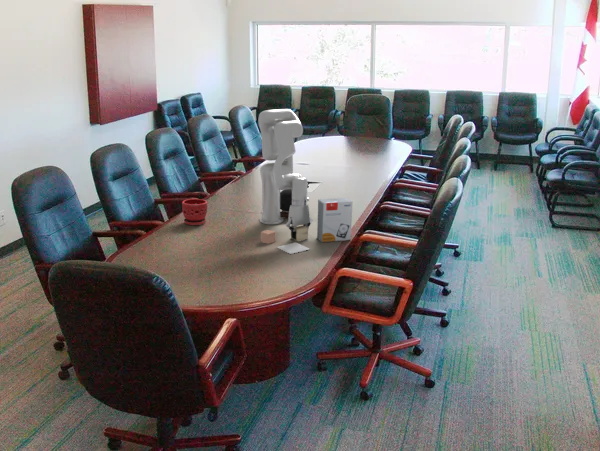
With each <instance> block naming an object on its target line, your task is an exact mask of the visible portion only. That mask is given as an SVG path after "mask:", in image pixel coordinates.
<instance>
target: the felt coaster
mask: <svg viewBox="0 0 600 451" xmlns="http://www.w3.org/2000/svg"><path fill="white" fill-rule="evenodd" d="M276 248H277V249H278V248H279V249H278V250H280V249H281V250H280V251H282V250H283V252H284V251H285V253H286V252H287V253H286V254H288V253H289V254H288V255H290V254H291V255H294V253H295V254H298V252H299V253H303V252H307V251H306V250H308V251H310V250H311V249H310V248H309V247H306V246H305V245H303V244H300V243H298V242H293V243H287V244H283V245H279V246H276Z"/></svg>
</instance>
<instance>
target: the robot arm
mask: <svg viewBox="0 0 600 451" xmlns="http://www.w3.org/2000/svg"><path fill="white" fill-rule="evenodd" d="M257 121H258V127H259V130H260V134H261V152H262V158H263V159H264V160H265V161H269V162H268V163H265V164H263V165H261V167H260V169H259V173H260V179H261V190H262V191H261V193H262V194H261V196H262V197H261V198H262V201H261V202H262V208H261V210H262V211H260V215H262V217H260V218H259V223H261V224H264V225H278V224H281V223H283V222H284V218H282V217H280V212H281V209H280V192H281V191H283V190H287V189H292V205H290V209H289V218H287V219H288V220H287V222H286V223H285V226H286V227H287V228H288V230H289V231H290V238H291V237H292V238H293V239H292V238H291V239H292V240H294V239H296V231H295V230H296V227H297V226H299V225H303V226H305V227H308V229H309V227H310V226H311V224H312V223H313V222H314V220H313V218H311V216H310V215H311V214H310V208H309V204H308V202H310V199H309V197H308V179H307V177H305V176H304V175H302V174H301V173H298V172H294V161H293V160H294V159H293V158H294V157H293V155H295V154H296V147H295V141H294V138H300V137H301V136H302V135H303V133H304V128H303V125H302V122H301V121H300V119H299V117H298V116H297V115H296V114H295V112H294V111H293V110H292V109H290V108H278V109H276V108H275V109H266V110H263V111H261V112H260V113H259V114H258V120H257ZM270 161H275V162H270ZM293 172H294V173H293ZM293 227H294V228H293Z"/></svg>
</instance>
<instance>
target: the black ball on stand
mask: <svg viewBox="0 0 600 451" xmlns="http://www.w3.org/2000/svg"><path fill="white" fill-rule="evenodd" d="M290 205H292V189H287V190H280V217H282V218H283V219H288V218H289V209H290Z"/></svg>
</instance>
